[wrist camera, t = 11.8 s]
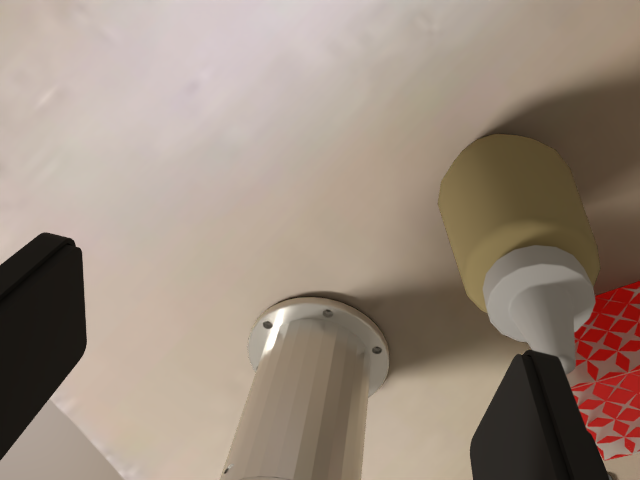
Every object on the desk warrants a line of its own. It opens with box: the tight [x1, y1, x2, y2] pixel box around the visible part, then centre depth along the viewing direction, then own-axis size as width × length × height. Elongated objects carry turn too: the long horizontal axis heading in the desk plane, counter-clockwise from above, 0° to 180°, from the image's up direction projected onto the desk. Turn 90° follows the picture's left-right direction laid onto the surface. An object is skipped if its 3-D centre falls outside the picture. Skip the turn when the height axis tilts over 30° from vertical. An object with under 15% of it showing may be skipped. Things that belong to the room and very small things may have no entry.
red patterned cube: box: [566, 281, 640, 461], centre depth 38 cm, size 8×8×8 cm
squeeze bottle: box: [438, 134, 600, 374], centre depth 28 cm, size 8×8×18 cm
